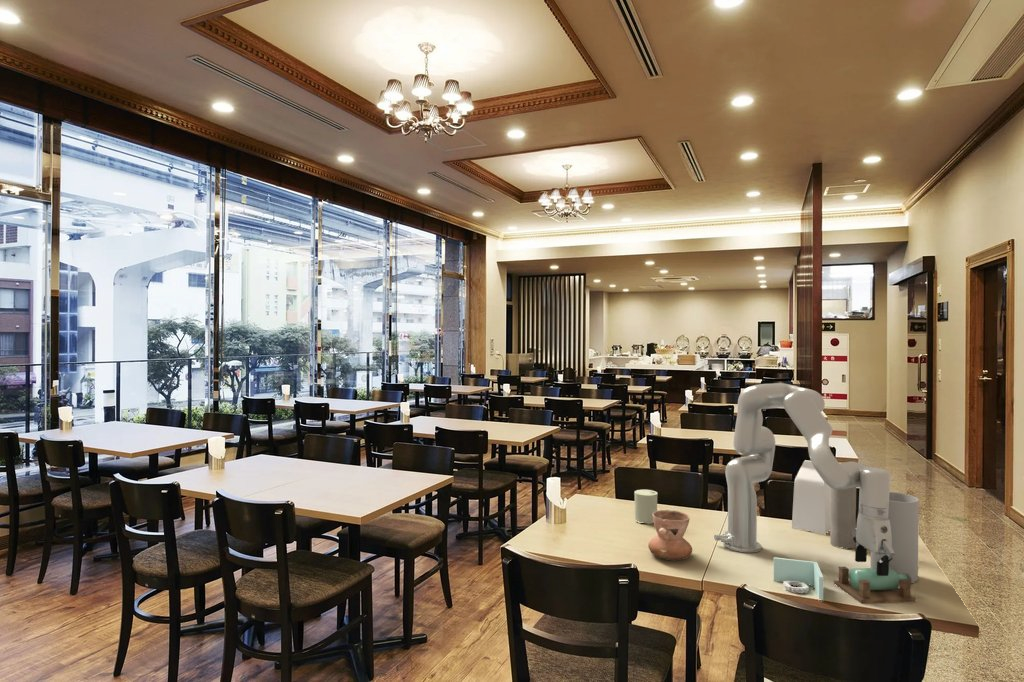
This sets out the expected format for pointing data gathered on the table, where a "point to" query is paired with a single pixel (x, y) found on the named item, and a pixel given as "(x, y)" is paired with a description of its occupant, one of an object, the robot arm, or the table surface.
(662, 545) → the ceramic jug
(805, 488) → the milk
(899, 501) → the cylinder vase
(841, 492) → the thermos bottle
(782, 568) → the right angle wall
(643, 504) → the can
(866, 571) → the bottle
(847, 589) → the rest
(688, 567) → the table surface
